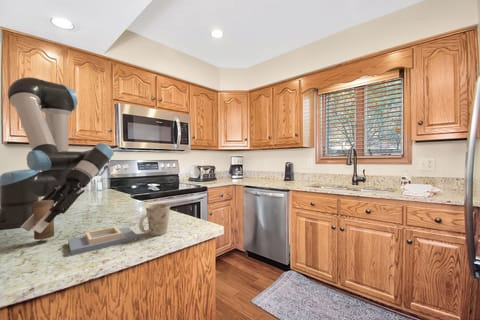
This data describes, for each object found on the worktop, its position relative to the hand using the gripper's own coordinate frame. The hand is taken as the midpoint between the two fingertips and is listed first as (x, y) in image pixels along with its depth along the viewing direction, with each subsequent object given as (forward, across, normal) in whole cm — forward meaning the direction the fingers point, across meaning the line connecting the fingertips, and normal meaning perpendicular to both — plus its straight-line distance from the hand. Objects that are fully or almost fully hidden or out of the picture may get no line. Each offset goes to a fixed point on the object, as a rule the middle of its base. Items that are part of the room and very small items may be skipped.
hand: (30, 229), depth 69 cm
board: (-3, -19, -10) cm, 22 cm away
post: (0, 0, -5) cm, 5 cm away
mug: (-11, -31, -18) cm, 38 cm away
